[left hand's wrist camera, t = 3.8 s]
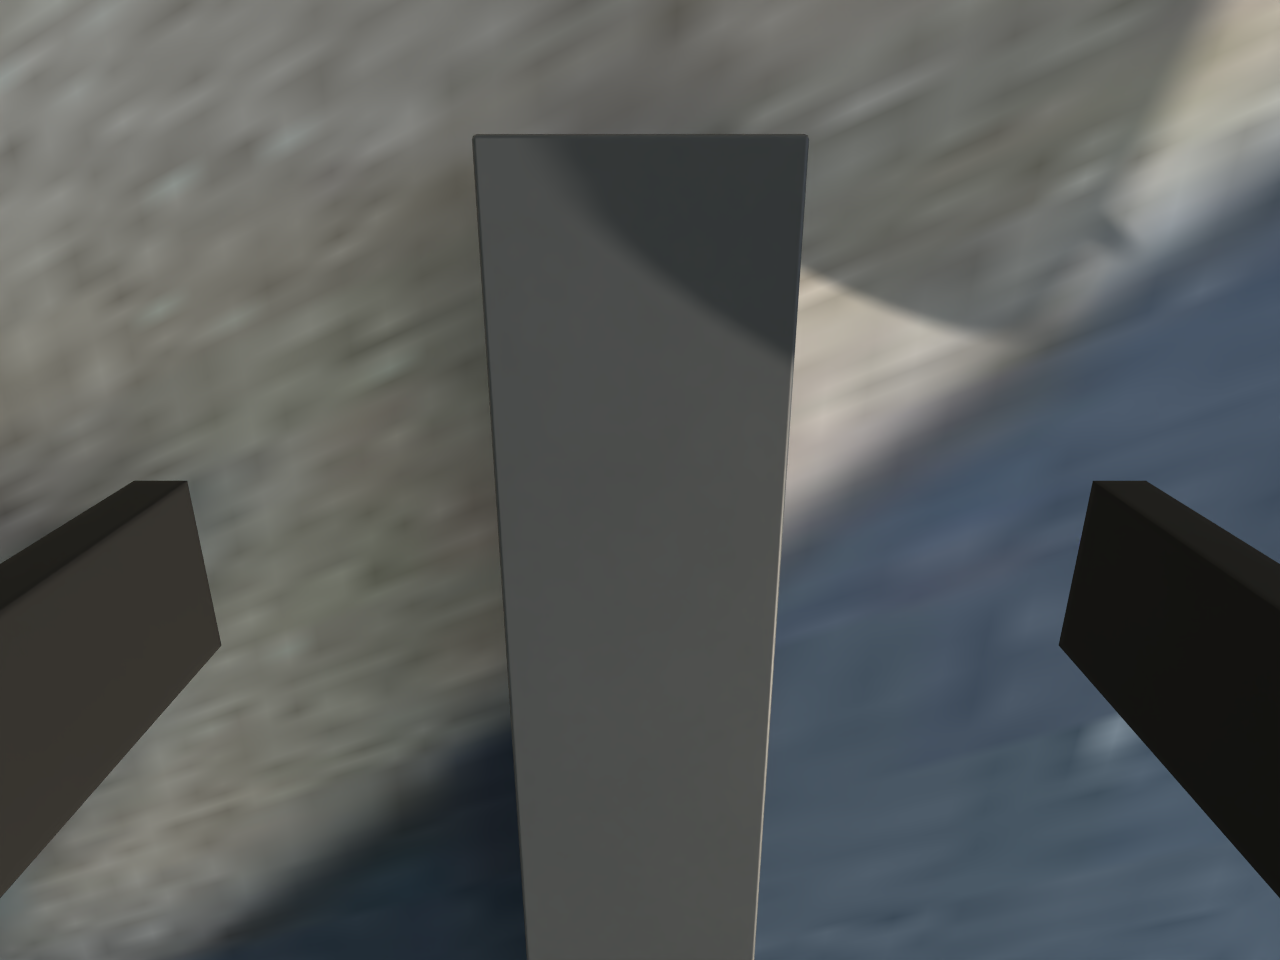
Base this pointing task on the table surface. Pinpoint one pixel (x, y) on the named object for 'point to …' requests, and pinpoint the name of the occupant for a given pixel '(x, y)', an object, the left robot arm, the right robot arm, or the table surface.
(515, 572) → the beam
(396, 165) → the table surface
